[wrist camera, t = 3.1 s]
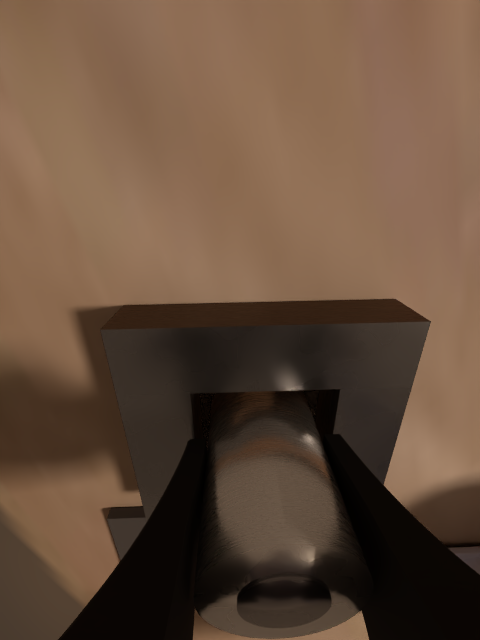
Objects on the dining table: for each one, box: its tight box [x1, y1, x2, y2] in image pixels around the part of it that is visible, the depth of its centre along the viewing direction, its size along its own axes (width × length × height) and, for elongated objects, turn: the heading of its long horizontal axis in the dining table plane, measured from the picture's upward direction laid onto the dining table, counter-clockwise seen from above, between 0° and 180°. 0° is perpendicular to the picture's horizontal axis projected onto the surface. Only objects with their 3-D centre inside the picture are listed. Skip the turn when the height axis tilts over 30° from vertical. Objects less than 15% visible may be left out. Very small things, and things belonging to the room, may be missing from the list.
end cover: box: [193, 390, 373, 639], centre depth 10 cm, size 5×5×7 cm
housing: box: [100, 299, 431, 521], centre depth 13 cm, size 11×11×2 cm
